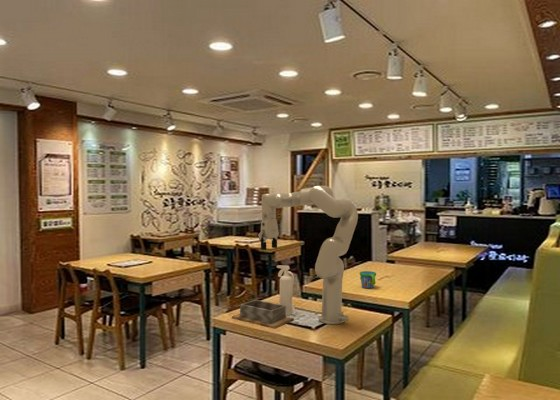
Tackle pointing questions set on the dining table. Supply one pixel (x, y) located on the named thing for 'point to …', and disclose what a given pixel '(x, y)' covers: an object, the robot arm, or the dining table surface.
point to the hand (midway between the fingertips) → (269, 248)
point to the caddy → (263, 314)
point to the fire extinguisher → (286, 289)
